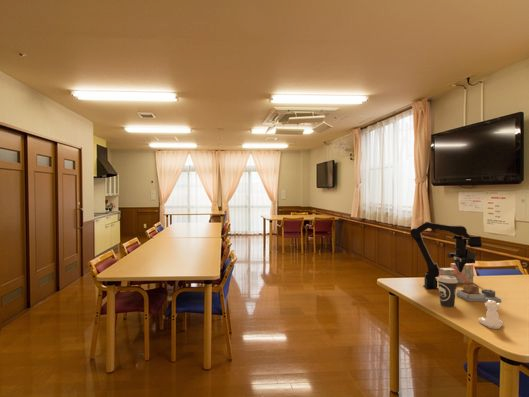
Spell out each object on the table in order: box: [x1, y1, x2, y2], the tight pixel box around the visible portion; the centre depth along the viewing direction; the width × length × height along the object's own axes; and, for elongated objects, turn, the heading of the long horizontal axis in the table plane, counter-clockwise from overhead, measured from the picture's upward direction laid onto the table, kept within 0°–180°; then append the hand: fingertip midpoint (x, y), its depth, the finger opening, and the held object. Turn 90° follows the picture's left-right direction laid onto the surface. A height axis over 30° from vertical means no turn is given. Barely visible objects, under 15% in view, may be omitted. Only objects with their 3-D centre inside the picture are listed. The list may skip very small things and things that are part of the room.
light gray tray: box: [455, 288, 502, 302], centre depth 182 cm, size 18×11×5 cm, turn 90°
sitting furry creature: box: [478, 300, 504, 330], centre depth 142 cm, size 10×9×12 cm
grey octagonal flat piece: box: [481, 288, 496, 297], centre depth 182 cm, size 6×6×2 cm
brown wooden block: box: [462, 284, 480, 294], centre depth 182 cm, size 6×4×6 cm
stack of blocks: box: [438, 262, 474, 284], centre depth 216 cm, size 21×6×12 cm, turn 100°
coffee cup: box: [437, 275, 459, 308], centre depth 170 cm, size 10×10×15 cm
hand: (460, 272), depth 194 cm, fingers closed
